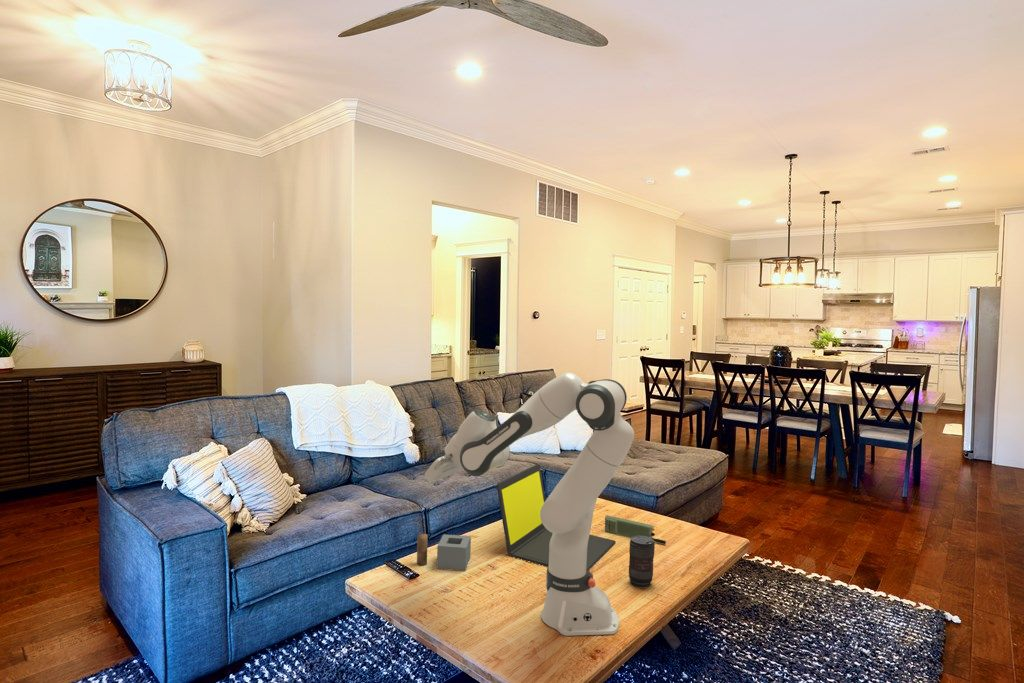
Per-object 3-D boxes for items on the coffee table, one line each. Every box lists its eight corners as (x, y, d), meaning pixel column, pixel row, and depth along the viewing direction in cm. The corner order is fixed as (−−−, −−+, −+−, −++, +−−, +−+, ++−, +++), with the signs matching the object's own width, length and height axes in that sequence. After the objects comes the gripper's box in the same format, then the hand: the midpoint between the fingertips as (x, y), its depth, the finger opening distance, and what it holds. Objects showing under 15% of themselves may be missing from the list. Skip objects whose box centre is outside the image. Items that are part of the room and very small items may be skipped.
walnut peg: (428, 561, 199) (428, 533, 199) (425, 566, 196) (426, 537, 195) (418, 561, 200) (418, 533, 199) (415, 565, 196) (416, 537, 196)
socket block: (470, 558, 203) (470, 536, 203) (465, 570, 193) (466, 547, 193) (442, 556, 204) (443, 534, 204) (436, 568, 194) (437, 545, 194)
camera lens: (657, 583, 188) (659, 539, 188) (644, 591, 182) (647, 546, 182) (636, 575, 194) (637, 532, 193) (623, 583, 188) (625, 539, 187)
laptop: (582, 578, 191) (585, 502, 190) (494, 553, 209) (496, 483, 207) (615, 544, 220) (618, 477, 219) (535, 525, 238) (538, 463, 236)
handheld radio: (607, 529, 235) (666, 544, 222) (603, 532, 232) (664, 547, 219) (607, 514, 234) (667, 527, 221) (604, 516, 231) (664, 530, 218)
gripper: (447, 466, 169) (424, 498, 173) (481, 452, 187) (459, 482, 191) (433, 451, 171) (411, 484, 175) (468, 439, 189) (447, 469, 193)
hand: (436, 482), depth 183 cm, fingers open, 8 cm apart
